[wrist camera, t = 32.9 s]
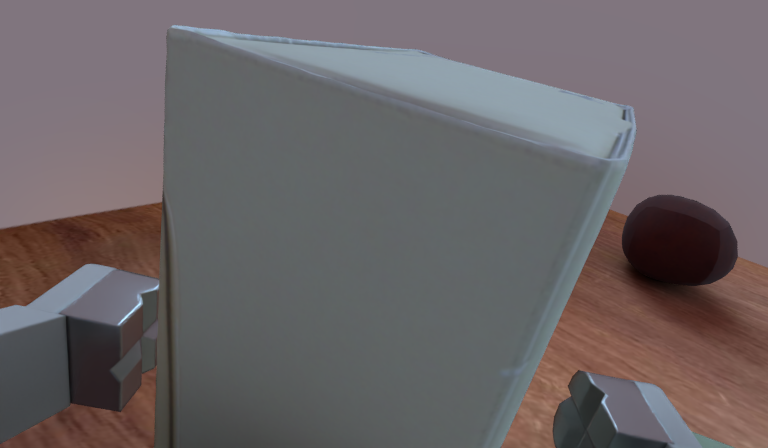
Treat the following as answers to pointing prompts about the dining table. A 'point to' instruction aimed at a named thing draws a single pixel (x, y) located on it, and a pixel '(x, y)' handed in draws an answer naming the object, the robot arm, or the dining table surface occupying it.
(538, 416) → the dining table surface
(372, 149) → the cosmetic box
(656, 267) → the potato
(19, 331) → the robot arm
